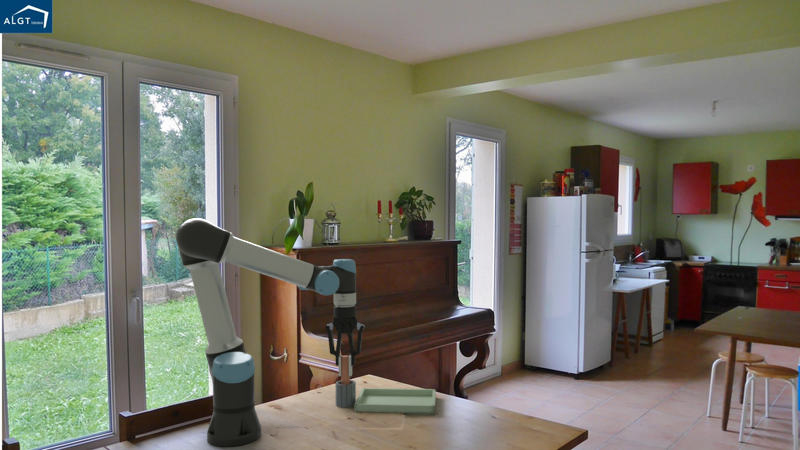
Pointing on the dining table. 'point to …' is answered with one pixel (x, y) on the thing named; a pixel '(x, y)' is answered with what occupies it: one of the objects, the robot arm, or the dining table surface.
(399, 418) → the dining table surface
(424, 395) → the tray
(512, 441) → the dining table surface
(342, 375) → the pin
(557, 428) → the dining table surface
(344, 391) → the cup
